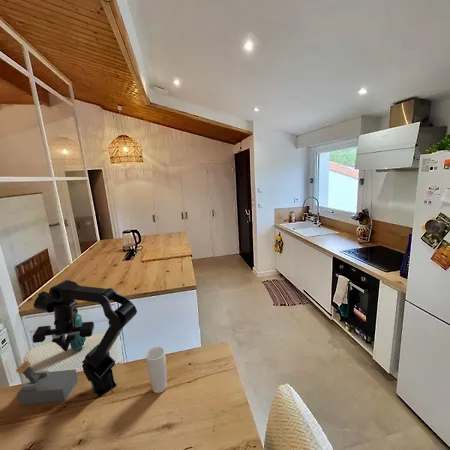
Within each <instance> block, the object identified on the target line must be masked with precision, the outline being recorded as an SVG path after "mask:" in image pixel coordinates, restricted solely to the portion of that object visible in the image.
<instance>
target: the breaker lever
mask: <svg viewBox="0 0 450 450" xmlns="http://www.w3.org/2000/svg"><path fill="white" fill-rule="evenodd" d="M31 365H32V364H31V362H30V361H29V360H26V361H24V362H22V363H21V364H20V365H19V366H18V367H17V369H15V371H16V373H18V375H20V374H23V375H24V377H26V379H28V380H30V381H31V384H35V383H36V381H37V380H38V379H39V378H40V375H37V374H36V373H35V372H36V371H34V369H33V368H32V367H31Z"/></svg>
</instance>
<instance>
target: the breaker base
mask: <svg viewBox="0 0 450 450" xmlns="http://www.w3.org/2000/svg"><path fill="white" fill-rule="evenodd" d="M34 372H35V373H36V374H37V375H40V378H39V379H38V380H37V381H36V383H35V384H31V381H30V380H29V379H28V380H27V381H25V383H24V384H22V385H21V388H20V389H19V390H18V391H17V392H16V394H17V398H18V402H19V405H20V406H23V405H24V406H25V405H34V404H44V403H56V402H65V401H66V400H67V398H68V397H69V395H70V393H71V392H72V390H73V389H74V388H75V386H76V384H77V383H78V381H79V379H78V373H77V369H75V368H74V369H66V370H65V369H64V370H57V371H55V370H53V371H49V370H38V371H34Z"/></svg>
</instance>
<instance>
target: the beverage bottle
mask: <svg viewBox="0 0 450 450" xmlns="http://www.w3.org/2000/svg"><path fill="white" fill-rule="evenodd" d="M73 311H77V320H76V324H75V325H74V326H77V327H81V326H82V323H83V318H82V315H81V314H79V311H78V308H77V307H73ZM85 340H86V341H87V337H81V336H80V333H77V334H76V337H75V339H74V340H71V342H70V344H69V346H71V347H70V349H72V350H73V351H77V350H81V349H82V348H83V347H82V346H83V345H84V342H85Z"/></svg>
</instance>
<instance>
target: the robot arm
mask: <svg viewBox="0 0 450 450" xmlns="http://www.w3.org/2000/svg"><path fill="white" fill-rule="evenodd" d="M37 295H38V296H37V297H36V298H35V300H34V302H33V305H32V306H33V309H35V310H36V311H38V310H39V311H42V312H44V313H48V314H51V313H53V315H54V321H53V325H54V328H51V325H42V326H41V325H40V326H38V327H37V328H36V330H35V331H34V333H33V335H32V336H31V337H32V343H34V344H36V343H43V342H44V341H45V340H46V336H51V337H52V339H51V343H55V345H58V346H59V347H60V348H61V349H62V350H63V351H64V352H68V350H69V346H70V342H71V340H74V339H75V337H76V334H77V333H80V336H81V337H86V338H89V337H91V336H93V332H94V329H95V323H94V321H86V322H84V321H82V326H81V327H77V326H74V325H75V324H76V320H77V314H78V313H77V311H78V310H77V311H73V308H74V307H75V305H77V304H78V301H82V302H89V303H97V304H98V303H99V305H101V307H102V310H103V314H104V316H105V318H106V319H107V320H108V322H107V323H108V325H109V326H108V328H107V330H106V331H105V333H104V335H103V337H102V339H101V340H100V342H99V343H98V344H97V345H96V346H94V347H93V348H92V349H90V350H89V352H88V353H87V354H86V355H85V356H84V360H82V362H81V363H82V366H81V367H82V371H83V374H84V375H85V377H86V379H87V380H88V382H90V383H91V387H92V392H93V393H94V394H96V396H98V397H99V398H101V397H102V396H103V395H105V394H106V393H108V392H109V391H110V390H112V389H113V388H115V387H116V386H117V383H116V382H115V379H114V374H113V368H114V366H115V365H116V360H115V359H113V357H111V356H110V350H111V348H112V347H113V345H114V344H115V342H116V340H117V339H118V337H119V335H120V333H121V332H122V331H123V329H124V327H125V326H126V325H127V324H128V323H129V322H130V321H131V320H132V319H133V318H134V317H135V316H136V315H137V313H138V310H137V308H136V306H135V304H134V303H133V302H132V301H131V300H130V299H129V298H128V297H127V296H125V295H123V294H121V293H118V292H117V291H116V290H115V289H113V288H112V287H108V288H104V287H96V286H95V287H94V286H85V285H79V284H78V283H77V282H76V281H72V280H69V279H65V280H63V281H61V282H59V283H58V284H55V285H53V286H52V287H50V288H49V292H46V291H43V290H42V291H41V292H39V293H37ZM111 301H112V302H116V303H118V304H120V306H119V307H117V308H116V309H115V310H113V308H112V305H111Z"/></svg>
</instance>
